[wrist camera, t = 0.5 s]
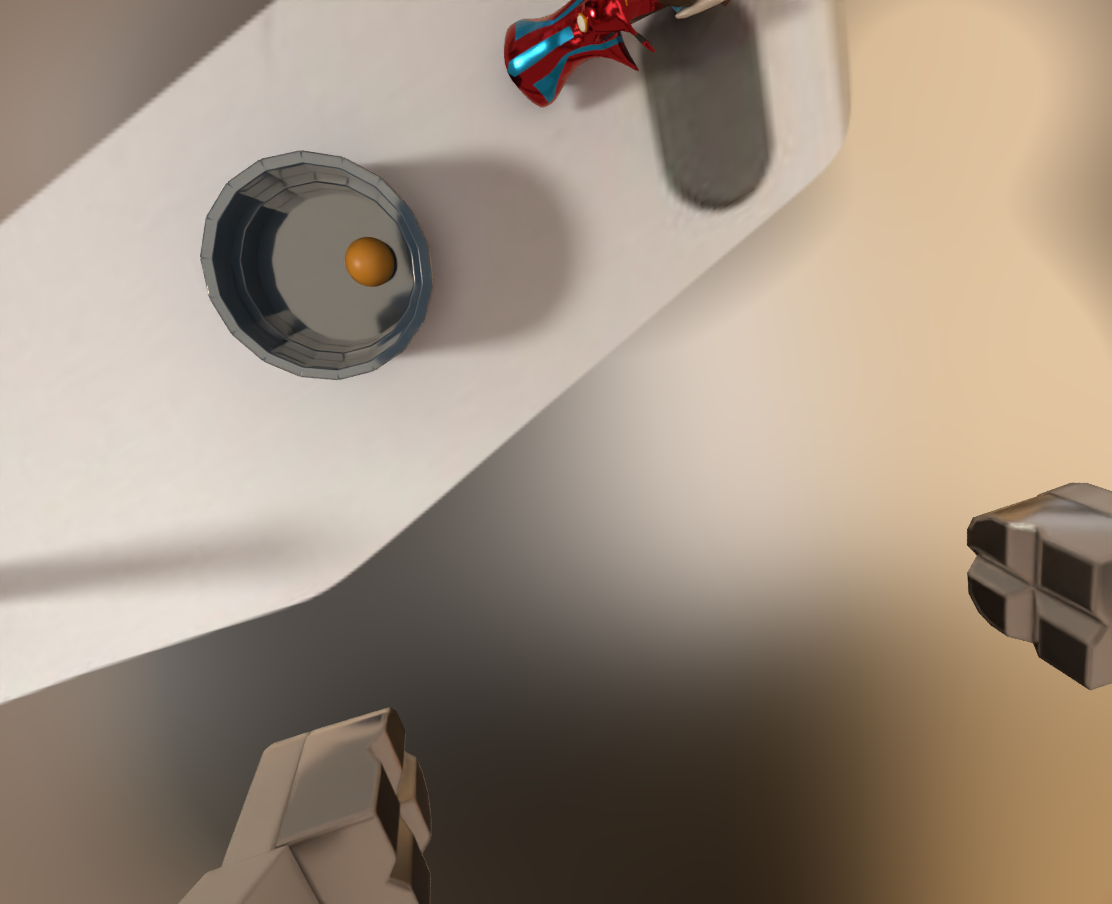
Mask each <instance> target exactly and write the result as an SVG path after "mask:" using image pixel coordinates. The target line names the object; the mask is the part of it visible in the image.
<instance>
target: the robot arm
mask: <svg viewBox="0 0 1112 904" xmlns="http://www.w3.org/2000/svg"><path fill="white" fill-rule="evenodd" d="M967 546H968V547H969V548H970V549H971V550H972V551H973V552H974V553H975V554H976V555H977V556H976V558H975V560H974V562H973V563H972V565H971V567H970V569H969V571H968V572H967V575H968V592H969V595H970V597H971V599H972V601H973V603H974V605H975V607H976V609H977V611H978V612H979V614H980V615H981V616H982V617H983V618H984V619H985V620H986V621H987V622H988V623H989V624H990V625H991V626H992V627H994V628H996V629H997V630H998V631H1000V632H1001V633H1003V634H1004V635H1006V636H1008V637H1011V638H1015V639H1019V640H1023V641H1028V642H1031V643H1033V644H1034V647H1035V649H1036V652H1037V654H1038V657H1039V658H1041V659H1042V660H1044V661H1045V662H1047V663H1049V664H1050V665H1052V666H1053V667H1055V668H1056V669H1058V670H1060V671H1061V672H1063V673H1064V674H1066V675H1067V676H1069V677H1070V678H1072V679H1073V680H1075V681H1076V682H1078V683H1079V684H1081V685H1082V686H1084V687H1086V688H1087V689H1089V690H1093V689H1096V688H1099V687H1102V686H1105V685H1108V684H1111V683H1112V491H1110V490H1107V489H1103V488H1101V487H1098V486H1095V485H1092V484H1088V483H1069V484H1067V485H1064V486H1061V487H1058V488H1055V489H1052V490H1050V491H1047V492H1044V493H1042V494H1039V495H1037V496H1036V497H1034V498H1031V499H1028V500H1025V501H1022V502H1019V503H1016V504H1013V505H1010V506H1007V507H1004V508H1000V509H997V510H995V511H991V512H988V513H985V514H982V515H979V516H976V517H973V518H972V521H971V523H970V525H969V527H968V529H967ZM404 746H405V729H404V727H403V725H402V723H401V720H400V718H399V716H398V714H397V712H396V711H395V710H394V709H392V708H390V707H389V708H386V709H382V710H380V711H376V712H373V713H369V714H366V715H363V716H359V717H356V718H353V719H349V720H346V721H343V722H339V723H336V724H333V725H330V726H326V727H323V728H320V729H316V730H313V731H312V732H309V733H304V734H301V735H298V736H295V737H292V738H289V739H285V740H282V741H279V742H276V743H273V744H272V745H270V746H269V747H268V748H267V749H266V750H265V751H264V752H263V755H262V757H261V760H260V762H259V765H258V768H257V770H256V773H255V776H254V779H253V782H252V784H251V787H250V790H249V792H248V795H247V798H246V800H245V803H244V806H243V808H242V811H241V814H240V817H239V820H238V822H237V825H236V828H235V830H234V833H233V836H232V839H231V841H230V844H229V847H228V849H227V852H226V855H225V858H224V860H223V863H222V866H221V868H218V869H215V870H213V871H210V872H207V873H206V874H205V875H204V876H203V877H202V878H201V879H200V880H199V882H198V883H197V884H196V885H195V886H194V887H193V888H192V889H191V890H190V892H189V893H188V894H187V895H186V896H185V897H184V898H183V899H182V900H181V901H180V903H179V904H430V876H431V874H430V871H429V869H428V867H427V864H426V862H425V860H424V857H423V855H422V853H423V851H424V849H425V848H426V846H427V844H428V843H429V841H430V839H431V813H430V805H429V799H428V791H427V787H426V784H425V780H424V777H423V773H422V770H421V768H420V765H419V763H418V760H417V758H415V757H414V756H412V755H410V754H408V753H406V752H405V751H404Z"/></svg>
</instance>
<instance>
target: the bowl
mask: <svg viewBox="0 0 1112 904" xmlns="http://www.w3.org/2000/svg"><path fill="white" fill-rule="evenodd" d="M362 237H373V238H376V239H379V240H381V241H382V242H384V243H385V244H386V245H387V246H388V247H389V249H390V250H391V252H392V254H393V257H394V263H395V264H394V271H393V274H392V276H391V277H390V279H389V280H388V281H387V282H385V283H384V284H382V285H380V286H376V287H368V286H364V285H361V284H359V283H357V282H356V281H355V280H354V279H353V278H352V277H351V276H350V275H349V273H348V271H347V269H346V266H345V254H346V251H347V248H348V247H349V245H350V244H351V243H352V242H353V241H355V240H357V239H359V238H362ZM200 257H201V264H202V268H203V273H204V277H205V282H206V286H207V291H208V295H209V298H210V300H211V302H212V304H213V305H214V307H215V308H216V310H217V312H218V313H219V315H220V317H221V318H222V320H223V321H224V323H225V325H226V326H227V328H228V329H229V331H230V333H231V334H232V335H233V336H234V337H235V338H236V339H238V340H239V341H240V342H241V343H242V344H244V345H245V346H246V347H247V348H248V349H249V350H251V351H252V352H253V353H254V354H255V355H256V356H258V357H259V358H260V359H261V360H263V361H264V362H266V363H269V364H271V365H273V366H276V367H278V368H280V369H283V370H285V371H288V372H290V373H292V374H295V375H297V376H301V377H308V378H320V379H332V380H341V379H345V378H349V377H353V376H357V375H361V374H364V373H368V372H372V371H374V370H377V369H378V368H379V367H381V366H382V365H384V364H385V363H387V362H388V361H390V360H391V359H392V358H394V357H395V356H397V355H398V354H400V353H401V352H403V350H405V348H406V347H407V345H408V344H409V342H410V341H411V340H412V338H413V337H414V335H415V334H416V332H417V331H418V329H419V328H420V326H421V325H422V323H423V322H424V320H425V316H426V312H427V308H428V303H429V299H430V295H431V291H432V287H433V271H432V262H431V253H430V249H429V245H428V243H427V241H426V239H425V237H424V235H423V232H422V230H421V228H420V226H419V224H418V222H417V220H416V218H415V216H414V214H413V212H412V210H411V209H410V207H409V206H408V205H407V204H406V203H405V202H404V201H403V200H402V199H401V198H400V196H399V195H398V194H397V193H396V192H395V191H394V190H393V189H392V188H391V187H390V186H389V185H388V184H387V183H386V182H385V181H384V180H383V179H382V178H381V177H380V176H378V175H376V174H374V173H372V172H370V171H369V170H367V169H365V168H363V167H361V166H359V165H357V164H356V163H354V162H352V161H350V160H348V159H346V158H343V157H340V156H334V155H328V154H321V153H315V152H309V151H295V152H291V153H286V154H281V155H277V156H272V157H268V158H263V159H261V160H258V161H257V162H255V163H254V164H252V165H251V166H250V167H248V168H247V169H245V170H244V171H243V172H241V173H240V174H238V175H237V176H235V177H234V178H233V179H231V180H230V181H228V183H227V184H226V185H225V186H224V188H223V190H222V191H221V193H220V195H219V196H218V198H217V200H216V201H215V203H214V205H213V206H212V208H211V210H210V211H209V213H208V215H207V217H206V220H205V227H204V234H203V241H202V247H201V254H200Z"/></svg>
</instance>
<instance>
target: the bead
mask: <svg viewBox="0 0 1112 904" xmlns="http://www.w3.org/2000/svg"><path fill="white" fill-rule="evenodd" d="M394 264H395V263H394V257H393V254H392V252H391V250H390V249H389V247H388V246H387V245H386V244H385V243H384V242H382V241H381V240H379V239H376V238H373V237H362V238H359V239H357V240H355V241H353V242H352V243H351V244H350V245H349V247H348V248H347V251H346V254H345V266H346V269H347V271H348V273H349V275H350V276H351V277H352V278H353V279H354V280H355V281H356V282H357V283H359V284H361V285H364V286H368V287H376V286H380V285H382V284H384V283H385V282H387V281H388V280H389V279H390V277H391V276H392V274H393V271H394Z"/></svg>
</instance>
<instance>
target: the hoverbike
mask: <svg viewBox="0 0 1112 904" xmlns="http://www.w3.org/2000/svg"><path fill="white" fill-rule="evenodd" d="M729 2H730V0H570V1H569V2H568V3H567V4H566V5H565V6H563V7H562V8H561V9H559V10H558V11H556V12H555V13H553V14H551V15H548V16H545V17H542V18H537V19H522V20H519V21H517V22H515V23H513V24H512V25H511V26H510V27H509V28H508V29H507V32H506V36H505V44H504V58H505V65H506V68H507V72H508V74H509V76H510V77H511V79H512V81H513V82H514V83H515V85H516V86H517V87H518V88H519V90H520V91H521V92H522V93H523V94H524V95H525V96H526V97H527V98H528V99H529V100H531V101H532V102H533V103H534V104H536V105H537V106H539V107H543V108H544V107H547V106H549V105H550V104H552V103H553V102H554V101H555V100H556V98H557V97H558V95H559V94H560V92H561V90H562V88H563V86H564V85H565V83H566V82H567V80H568V79H569V77H570V76H571V74H572V73H573V72H574V71H575V70H576V69H577V67H578V66H580V65H581V64H583V63H584V62H586V61H587V60H589V59H592V58H598V57H603V58H608V59H613V60H615V61H618V62H620V63H622V64H624V65H626V66H628V67H630V68H632V69H634V70H636V71H639V70H638V68H637V66H636V64H635V63H634V61H633V59H632V58H631V56H630V54H629V52H628V50H627V48H626V46H625V44H624V41H623V38H622V35H621V31H624V32H630V33H631V34H632V35H634V36H635V37H636V38H637V39H638V41H639V42H641V43H642V44H643V45H644V46H645V47H646V48H647V49H649V50H650V51H652V52H655V50H654V48H653V47H652V46H651V44H650V43H649V42H648V41H647V40H646V39H645V38H644V37H643V36H642V35H640V34H639V33H637V32H636V31H635V30H634V29H633V28H632V25H631V24H633V23H635V22H637V21H639V20H641V19H642V18H645V17H647V16H649V15H651V14H653V13H655V12H657V11H659V10H661V9H663V8H665V7H668V6H671V7H672V8H673V9H674V10H675V11H676V12H677V14H676V18H687V17H690V16H692V15H695V14H698V13H700V12H702V11H704V10H707V9H709V8H711V7H713V6H716V5H718V4H720V3H721V4H722V5H724V6H726V5H728V3H729Z"/></svg>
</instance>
